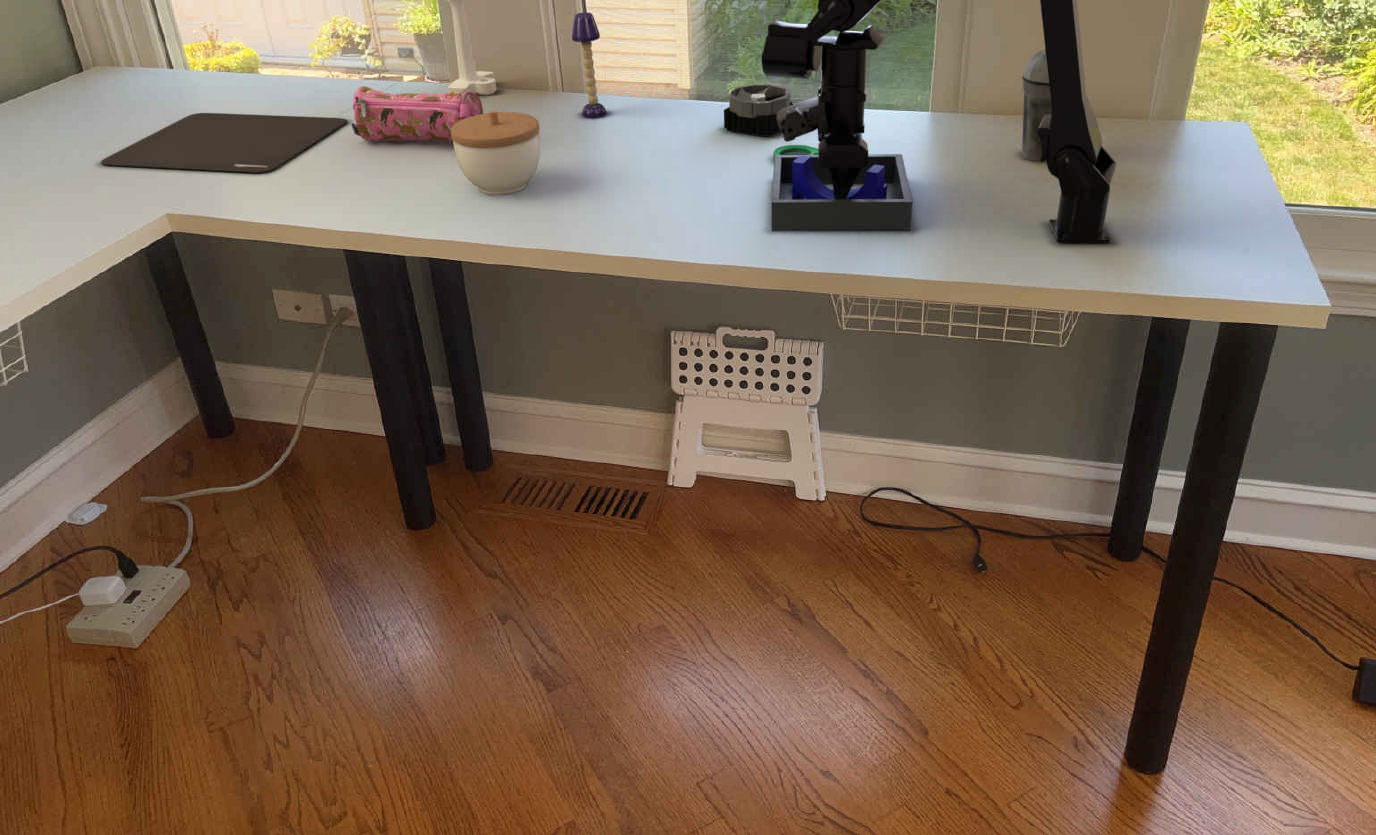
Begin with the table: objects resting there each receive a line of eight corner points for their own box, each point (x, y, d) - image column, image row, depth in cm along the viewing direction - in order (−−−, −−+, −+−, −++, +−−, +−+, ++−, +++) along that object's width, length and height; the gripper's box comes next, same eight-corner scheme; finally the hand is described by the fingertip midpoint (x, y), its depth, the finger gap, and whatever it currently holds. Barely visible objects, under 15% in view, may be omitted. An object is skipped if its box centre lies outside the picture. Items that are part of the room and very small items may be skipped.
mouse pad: (94, 164, 178) (94, 163, 178) (194, 113, 200) (194, 112, 199) (268, 173, 171) (267, 172, 171) (351, 119, 193) (351, 118, 193)
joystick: (474, 82, 210) (458, -29, 199) (509, 85, 208) (495, -28, 197) (444, 99, 201) (425, -16, 190) (480, 102, 199) (463, -15, 188)
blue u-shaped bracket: (885, 205, 151) (888, 162, 147) (874, 216, 147) (877, 173, 144) (804, 193, 155) (805, 152, 152) (791, 204, 152) (792, 161, 149)
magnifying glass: (767, 163, 166) (767, 152, 165) (781, 150, 171) (781, 140, 170) (865, 174, 161) (866, 163, 160) (876, 160, 165) (877, 149, 164)
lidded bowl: (464, 206, 156) (452, 130, 150) (455, 177, 167) (444, 104, 161) (552, 194, 159) (543, 119, 153) (538, 166, 169) (530, 94, 163)
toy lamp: (575, 117, 189) (565, 16, 180) (585, 109, 193) (576, 10, 184) (601, 118, 188) (592, 17, 179) (610, 110, 192) (603, 11, 183)
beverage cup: (1065, 165, 161) (1086, 23, 150) (1013, 163, 162) (1031, 23, 151) (1061, 148, 167) (1081, 11, 156) (1011, 147, 168) (1028, 10, 157)
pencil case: (351, 148, 180) (339, 94, 175) (379, 130, 187) (368, 77, 183) (471, 155, 175) (462, 99, 170) (494, 136, 182) (487, 82, 177)
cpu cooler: (747, 80, 184) (801, 87, 179) (747, 114, 187) (801, 121, 182) (716, 97, 177) (772, 104, 172) (717, 132, 180) (772, 140, 175)
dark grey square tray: (910, 231, 143) (912, 201, 141) (771, 231, 145) (771, 202, 143) (900, 181, 158) (902, 154, 156) (774, 181, 160) (774, 155, 158)
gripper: (781, 63, 151) (780, 173, 159) (779, 103, 135) (778, 222, 143) (863, 61, 150) (858, 172, 158) (871, 102, 134) (865, 222, 142)
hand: (839, 196), depth 150 cm, fingers closed on blue u-shaped bracket, 5 cm apart
